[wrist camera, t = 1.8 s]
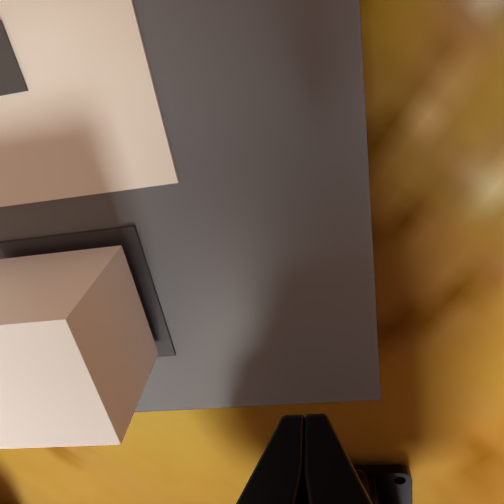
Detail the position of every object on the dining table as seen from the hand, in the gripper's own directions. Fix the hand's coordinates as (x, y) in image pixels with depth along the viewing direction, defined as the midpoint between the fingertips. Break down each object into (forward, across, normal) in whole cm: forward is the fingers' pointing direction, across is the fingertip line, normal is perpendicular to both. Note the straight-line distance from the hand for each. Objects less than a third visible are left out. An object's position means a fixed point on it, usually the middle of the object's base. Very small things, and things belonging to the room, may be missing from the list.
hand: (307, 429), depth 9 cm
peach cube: (+5, +7, 0) cm, 9 cm away
